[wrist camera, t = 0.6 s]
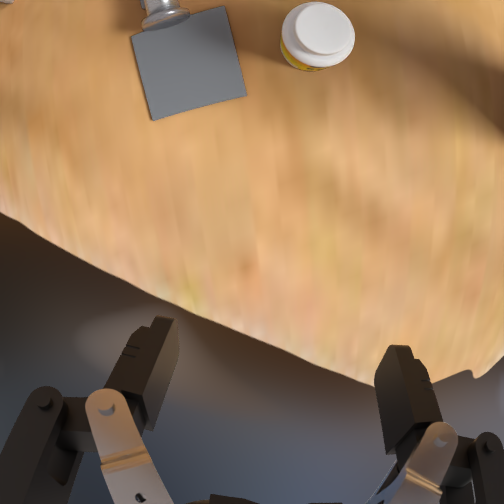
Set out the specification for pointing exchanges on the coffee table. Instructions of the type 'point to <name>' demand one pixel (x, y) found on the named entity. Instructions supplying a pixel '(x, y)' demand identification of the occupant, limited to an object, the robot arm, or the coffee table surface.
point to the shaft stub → (163, 14)
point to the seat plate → (189, 64)
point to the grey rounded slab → (7, 1)
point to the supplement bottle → (316, 36)
